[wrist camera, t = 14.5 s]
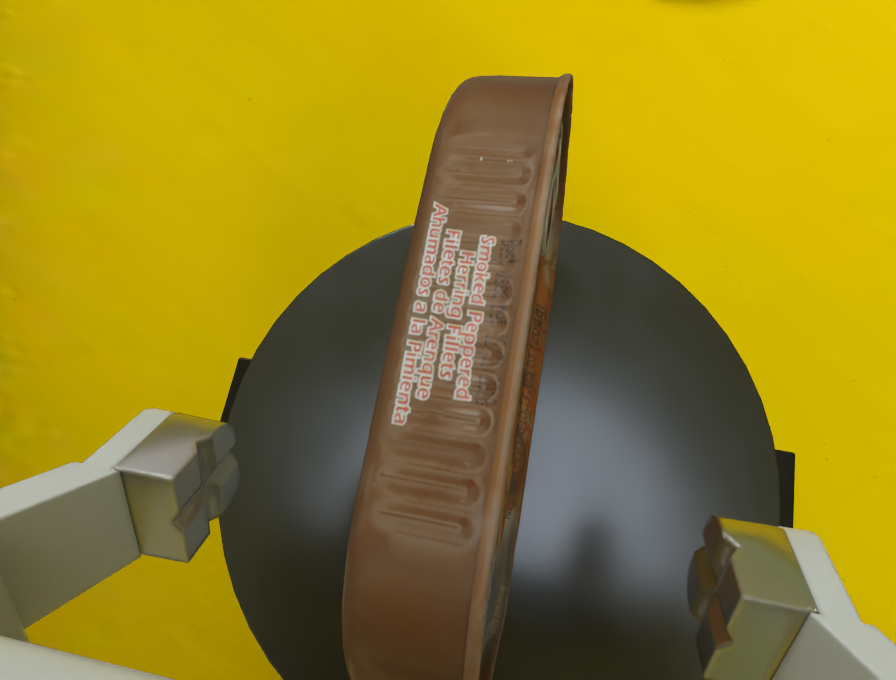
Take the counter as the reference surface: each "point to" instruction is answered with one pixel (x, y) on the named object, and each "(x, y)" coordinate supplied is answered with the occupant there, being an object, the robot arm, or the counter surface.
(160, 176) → the counter surface
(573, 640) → the stockpot
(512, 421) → the tin
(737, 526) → the robot arm
